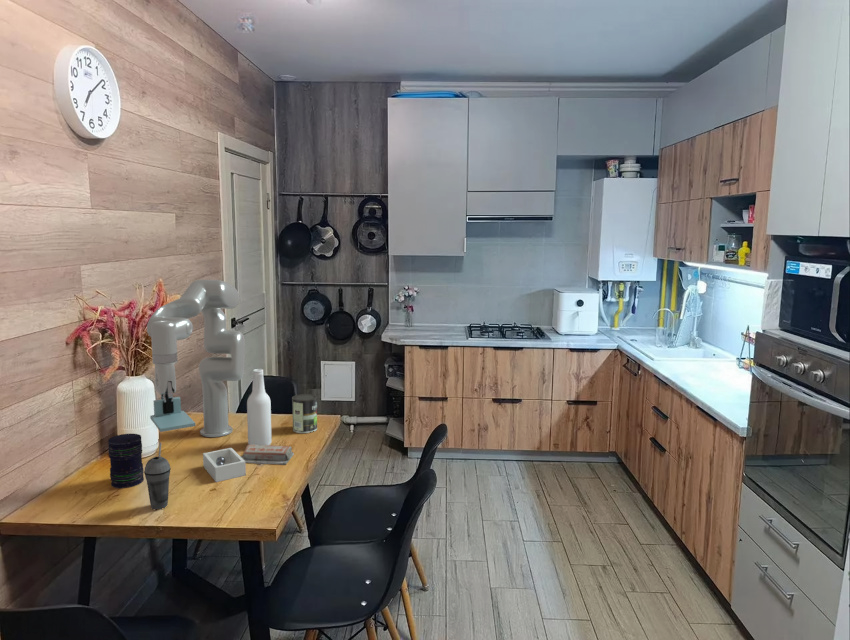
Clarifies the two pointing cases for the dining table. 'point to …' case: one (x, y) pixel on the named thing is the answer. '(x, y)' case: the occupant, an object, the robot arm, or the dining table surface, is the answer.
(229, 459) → the tub
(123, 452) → the storage jar
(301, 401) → the coffee can
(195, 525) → the dining table surface
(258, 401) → the alcohol
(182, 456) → the dining table surface
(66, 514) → the dining table surface
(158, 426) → the lid
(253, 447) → the packaged product
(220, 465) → the ball
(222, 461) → the ball
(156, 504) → the beverage cup
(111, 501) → the dining table surface
